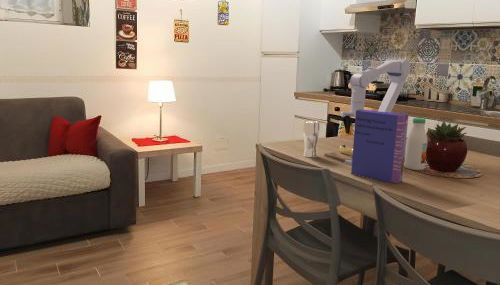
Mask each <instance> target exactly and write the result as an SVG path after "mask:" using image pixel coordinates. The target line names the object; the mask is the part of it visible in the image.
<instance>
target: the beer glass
mask: <svg viewBox="0 0 500 285" xmlns="http://www.w3.org/2000/svg"><path fill="white" fill-rule="evenodd" d="M320 135H321V122H320V121H317V120H305V121H304V124H303V142H304V151H303V157H305V158H317V157H318V144H319V141H320V140H319V139H320Z"/></svg>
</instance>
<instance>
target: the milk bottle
mask: <svg viewBox="0 0 500 285" xmlns="http://www.w3.org/2000/svg"><path fill="white" fill-rule="evenodd" d="M425 125H426V119H425V118H423V117H421V118H420V117H414V118H413V119H412V127H411V130H410V131H409V133H408V135H407V137H406V146H405V156H404V166H403V168H404V169H405V168H406V169H407V170H413V171H423V170H425V168H426V160H427V149H428V136H427V133H426V129H425Z"/></svg>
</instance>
